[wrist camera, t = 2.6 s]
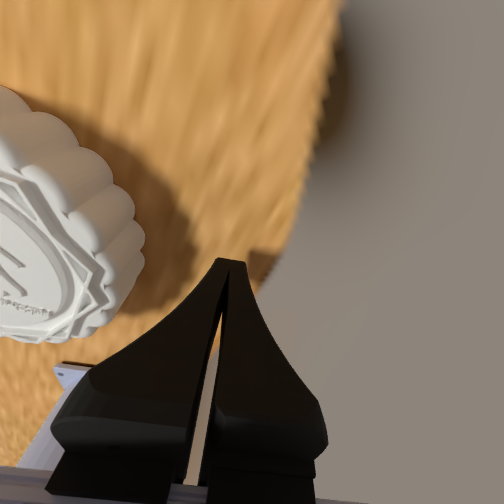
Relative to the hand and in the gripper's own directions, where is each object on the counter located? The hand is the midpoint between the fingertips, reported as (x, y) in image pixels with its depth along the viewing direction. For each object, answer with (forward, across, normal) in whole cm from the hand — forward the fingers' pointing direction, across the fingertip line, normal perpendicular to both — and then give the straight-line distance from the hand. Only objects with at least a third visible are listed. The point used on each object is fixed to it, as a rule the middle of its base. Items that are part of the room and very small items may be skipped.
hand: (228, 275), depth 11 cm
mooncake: (+2, +10, 0) cm, 11 cm away
